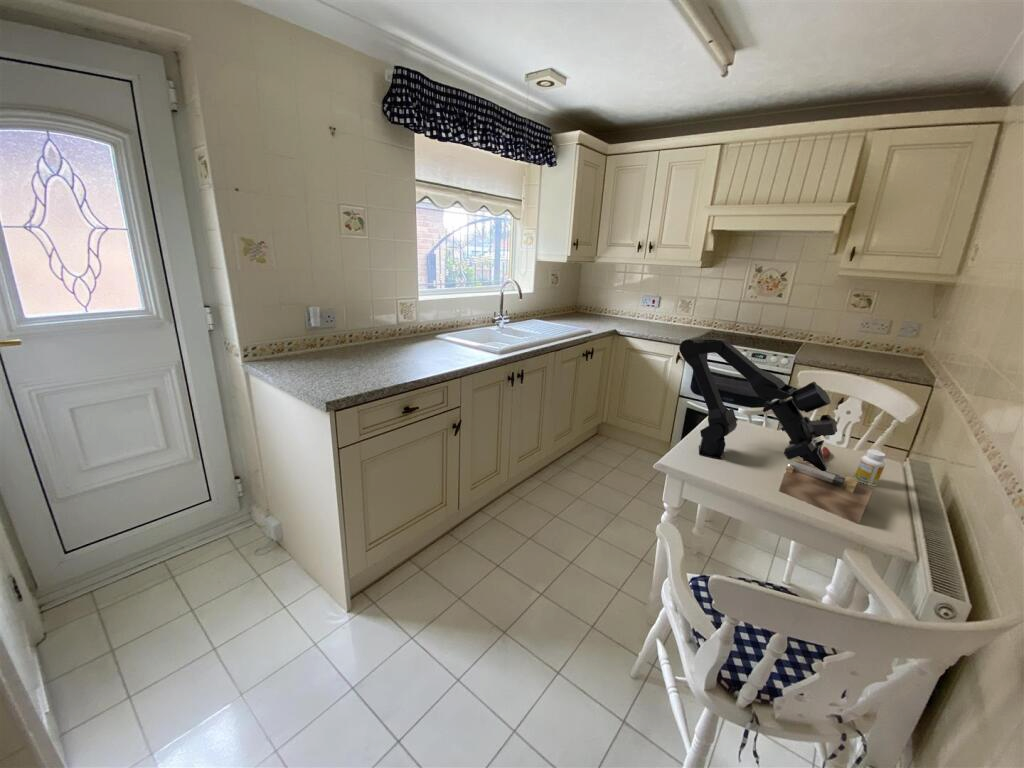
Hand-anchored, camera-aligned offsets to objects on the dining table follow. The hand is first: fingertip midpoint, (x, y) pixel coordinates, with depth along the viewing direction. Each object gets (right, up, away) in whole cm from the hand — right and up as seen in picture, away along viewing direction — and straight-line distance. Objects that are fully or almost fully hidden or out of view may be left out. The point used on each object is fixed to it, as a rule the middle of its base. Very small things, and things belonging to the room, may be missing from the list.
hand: (824, 470), depth 113 cm
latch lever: (-1, -2, +2) cm, 3 cm away
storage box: (+1, -8, +2) cm, 8 cm away
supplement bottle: (+21, -6, +12) cm, 25 cm away
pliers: (+12, -1, +24) cm, 27 cm away
